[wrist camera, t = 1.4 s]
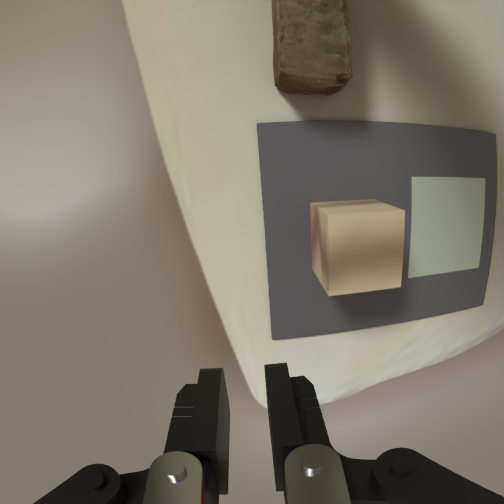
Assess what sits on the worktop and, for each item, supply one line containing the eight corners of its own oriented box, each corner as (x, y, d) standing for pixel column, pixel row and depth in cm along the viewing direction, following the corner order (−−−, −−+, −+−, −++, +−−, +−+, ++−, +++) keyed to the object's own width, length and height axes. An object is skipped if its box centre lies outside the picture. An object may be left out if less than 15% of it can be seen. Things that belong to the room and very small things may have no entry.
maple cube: (309, 202, 27) (327, 214, 21) (374, 199, 27) (404, 210, 22) (312, 269, 29) (328, 296, 23) (373, 262, 29) (400, 287, 23)
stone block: (328, -10, 22) (343, -34, 17) (338, 98, 25) (358, 88, 20) (267, -14, 22) (271, -40, 17) (273, 96, 25) (279, 84, 20)
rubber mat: (256, 123, 25) (256, 123, 25) (493, 133, 26) (495, 133, 25) (271, 338, 31) (272, 339, 31) (481, 303, 31) (483, 304, 31)
